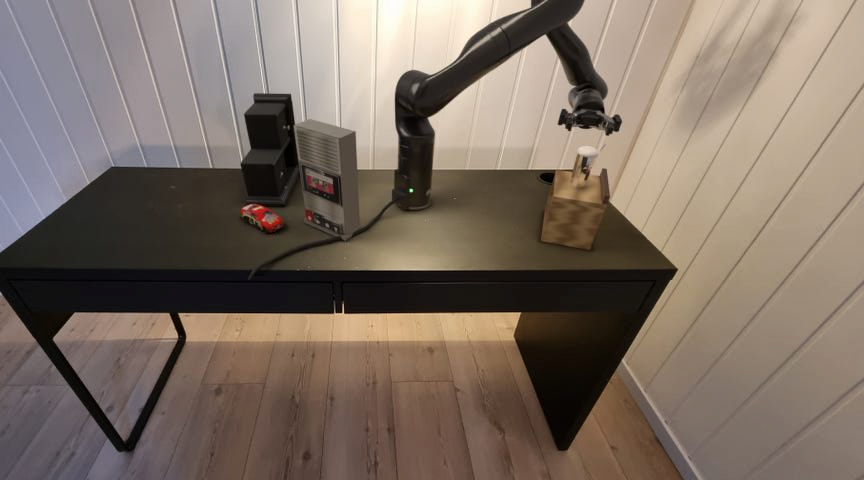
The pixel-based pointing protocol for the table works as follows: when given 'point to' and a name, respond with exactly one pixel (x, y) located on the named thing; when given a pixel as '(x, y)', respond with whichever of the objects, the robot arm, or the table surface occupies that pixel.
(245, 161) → the bookend
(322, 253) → the table surface
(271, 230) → the race car
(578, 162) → the milkshake
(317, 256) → the table surface
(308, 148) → the cassette tape recorder
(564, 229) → the block
